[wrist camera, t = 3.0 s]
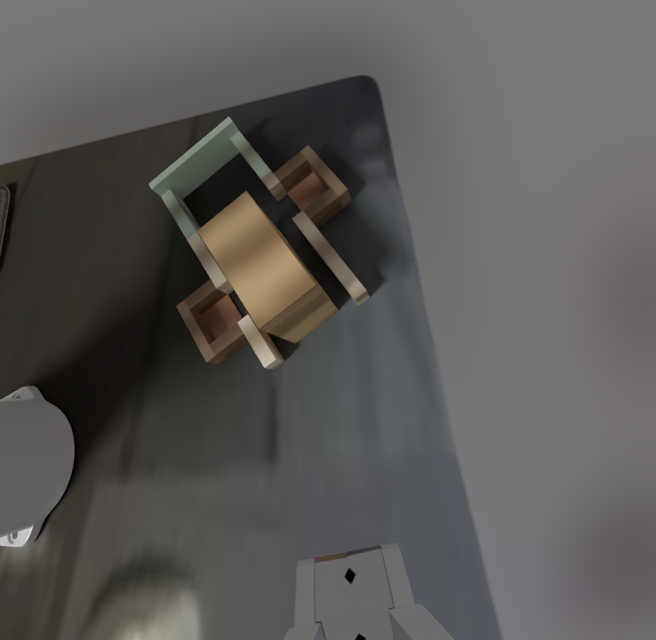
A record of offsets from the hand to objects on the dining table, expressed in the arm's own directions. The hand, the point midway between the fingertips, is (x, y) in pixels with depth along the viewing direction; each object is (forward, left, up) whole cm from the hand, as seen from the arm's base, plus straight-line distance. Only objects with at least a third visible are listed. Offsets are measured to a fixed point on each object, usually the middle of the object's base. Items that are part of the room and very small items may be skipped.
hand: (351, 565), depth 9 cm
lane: (-9, +25, -22) cm, 35 cm away
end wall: (-14, +38, -22) cm, 46 cm away
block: (-7, +19, -23) cm, 30 cm away
